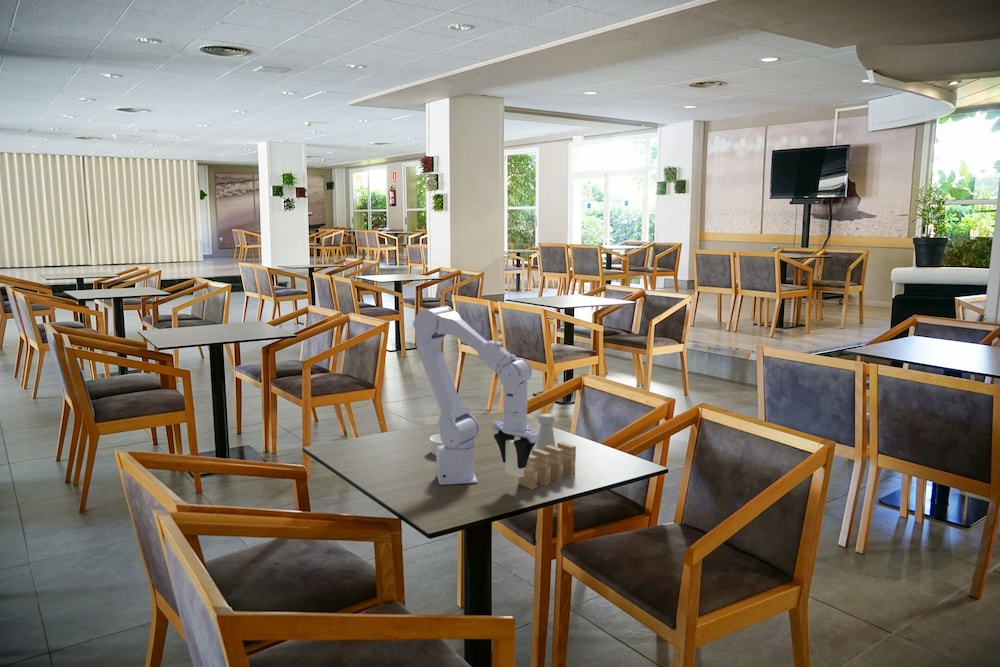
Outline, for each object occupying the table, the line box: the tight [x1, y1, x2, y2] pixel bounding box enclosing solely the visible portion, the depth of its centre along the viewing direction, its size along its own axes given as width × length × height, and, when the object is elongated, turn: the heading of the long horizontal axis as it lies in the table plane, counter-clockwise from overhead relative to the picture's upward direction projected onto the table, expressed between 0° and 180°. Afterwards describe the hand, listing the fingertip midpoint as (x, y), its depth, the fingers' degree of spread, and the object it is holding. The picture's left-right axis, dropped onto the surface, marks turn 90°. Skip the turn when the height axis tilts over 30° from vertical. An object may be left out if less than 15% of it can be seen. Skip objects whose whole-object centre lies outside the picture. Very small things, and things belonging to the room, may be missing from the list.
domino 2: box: [531, 447, 551, 486], centre depth 193 cm, size 2×5×8 cm, turn 41°
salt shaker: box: [535, 413, 556, 451], centre depth 209 cm, size 6×6×13 cm
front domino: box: [504, 439, 524, 478], centre depth 186 cm, size 2×5×8 cm, turn 41°
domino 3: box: [545, 445, 564, 482], centre depth 196 cm, size 2×5×8 cm, turn 41°
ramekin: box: [429, 433, 444, 457], centre depth 216 cm, size 9×9×4 cm
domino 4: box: [557, 441, 577, 478], centre depth 199 cm, size 2×5×8 cm, turn 41°
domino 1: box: [518, 453, 538, 490], centre depth 190 cm, size 2×5×8 cm, turn 41°
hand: (514, 464), depth 187 cm, fingers closed on front domino, 5 cm apart
